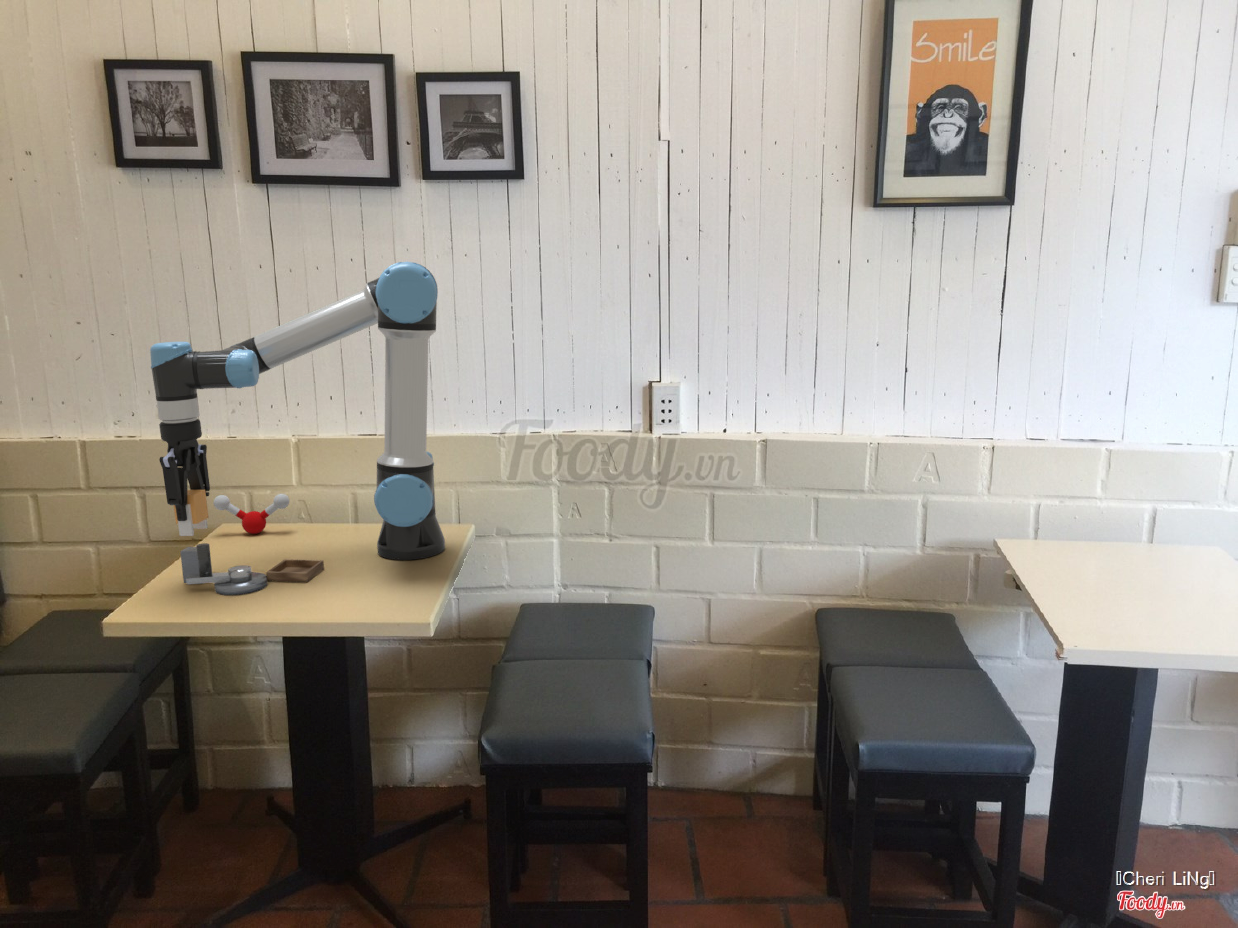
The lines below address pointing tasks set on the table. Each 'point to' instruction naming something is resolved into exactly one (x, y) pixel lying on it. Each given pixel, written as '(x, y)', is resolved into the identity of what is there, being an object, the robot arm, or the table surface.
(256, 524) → the molecular model
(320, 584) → the table surface
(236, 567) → the crank
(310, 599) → the table surface
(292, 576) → the tray
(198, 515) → the orange wooden block
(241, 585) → the crank base
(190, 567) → the gray block
